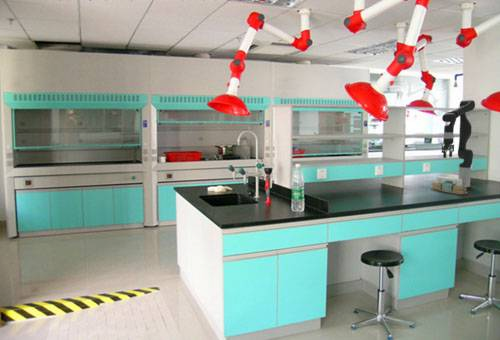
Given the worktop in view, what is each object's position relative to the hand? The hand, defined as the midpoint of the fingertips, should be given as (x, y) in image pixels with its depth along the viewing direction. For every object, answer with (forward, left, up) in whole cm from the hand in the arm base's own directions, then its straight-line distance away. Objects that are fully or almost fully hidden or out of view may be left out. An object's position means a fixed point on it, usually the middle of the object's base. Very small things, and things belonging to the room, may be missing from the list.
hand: (447, 157), depth 353 cm
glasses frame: (+4, +5, -22) cm, 22 cm away
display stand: (+4, +5, -28) cm, 28 cm away
